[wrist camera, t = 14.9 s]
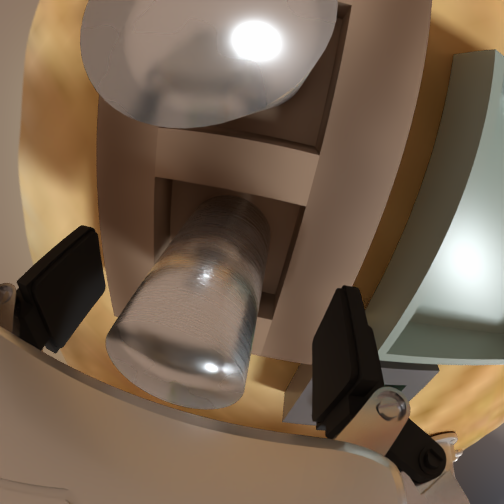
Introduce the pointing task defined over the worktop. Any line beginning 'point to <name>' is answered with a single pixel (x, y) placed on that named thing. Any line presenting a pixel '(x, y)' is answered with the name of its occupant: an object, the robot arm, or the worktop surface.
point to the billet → (197, 309)
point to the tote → (453, 235)
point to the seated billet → (202, 55)
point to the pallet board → (277, 172)
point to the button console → (394, 374)
